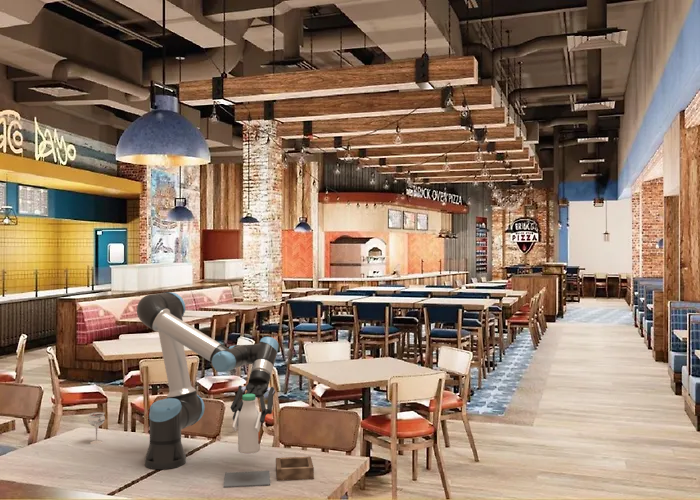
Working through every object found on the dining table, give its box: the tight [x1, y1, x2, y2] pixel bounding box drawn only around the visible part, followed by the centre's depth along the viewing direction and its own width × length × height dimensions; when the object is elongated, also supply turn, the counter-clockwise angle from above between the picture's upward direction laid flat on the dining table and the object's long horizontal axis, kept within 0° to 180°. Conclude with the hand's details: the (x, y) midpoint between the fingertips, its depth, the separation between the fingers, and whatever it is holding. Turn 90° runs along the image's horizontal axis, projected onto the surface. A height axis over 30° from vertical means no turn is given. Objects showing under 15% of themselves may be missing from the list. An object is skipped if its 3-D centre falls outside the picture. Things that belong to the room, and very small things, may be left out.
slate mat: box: [223, 470, 271, 489], centre depth 245 cm, size 16×14×1 cm
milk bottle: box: [237, 393, 261, 455], centre depth 245 cm, size 8×8×20 cm
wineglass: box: [87, 411, 106, 445], centre depth 289 cm, size 7×7×12 cm
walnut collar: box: [275, 455, 315, 481], centre depth 251 cm, size 13×13×4 cm
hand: (245, 429), depth 241 cm, fingers closed on milk bottle, 8 cm apart
